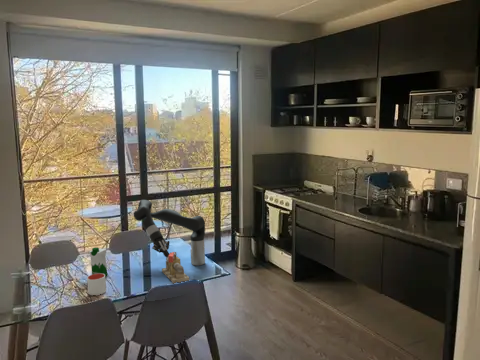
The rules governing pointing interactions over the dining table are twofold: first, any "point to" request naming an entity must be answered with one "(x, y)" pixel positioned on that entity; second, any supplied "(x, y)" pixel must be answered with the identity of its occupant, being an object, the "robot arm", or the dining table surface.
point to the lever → (172, 257)
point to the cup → (96, 284)
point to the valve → (175, 271)
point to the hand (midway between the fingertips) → (167, 256)
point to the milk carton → (98, 261)
